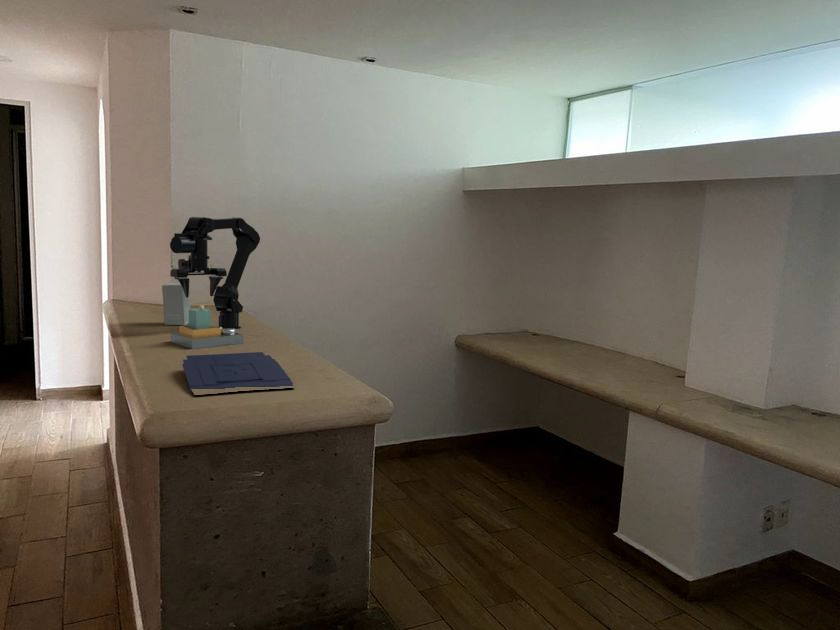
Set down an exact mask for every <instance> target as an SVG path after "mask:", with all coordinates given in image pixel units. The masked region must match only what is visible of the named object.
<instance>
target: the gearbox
mask: <svg viewBox="0 0 840 630" xmlns="http://www.w3.org/2000/svg"><path fill="white" fill-rule="evenodd" d="M178 327H179V328H178V332H176V331H175V332H170V343H173V344H175V345H179V346H182V347H185V348H188V349H189V350H190V349H191V350H195V349H206V348H213V347H214V348H215V347H222V346H231V345H241V344H244V334H243V333H241V332H236V331H237V330H236V329H237V328H235V329H234V328H222V327H220V326H219V325H217V326H216V325H212V324H211V328H206V329H195V330H194V329H190V328H189V324H187V325H178Z"/></svg>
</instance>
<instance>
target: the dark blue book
mask: <svg viewBox="0 0 840 630" xmlns="http://www.w3.org/2000/svg"><path fill="white" fill-rule="evenodd" d="M182 369H183V372H184V375H185V378H186V380H187V384H188V387H189V390H190V391H191V389H225V388H235V387H278V386H279V387H280V386H293V385H294V383H293V382H292V379H291V378H290V377H289V376H288V374H287V373H286V371H285V370H284V369H283V368H282V366H281V365H280V363H279V362H278V361H277V360H275V358H273V357H272V356H271V355H269V354H268V355H266V354H265V353H264V352H263V351H257V352H256V351H253V352H237V353H219V354H214V353H213V354H196V355H194V354H193V355H186V359H182Z"/></svg>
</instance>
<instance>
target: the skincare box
mask: <svg viewBox="0 0 840 630" xmlns="http://www.w3.org/2000/svg"><path fill="white" fill-rule="evenodd" d="M190 291H191V290H189V296H188V298H187V297H186V296H185V294H184V291H183V288H182V286H181V284H180V282H178V283H175V282H174V283H172V282H169V283H164V284H162V285H161V292H162V293H161V294H162V306H163V320H164V322H163V323H164V325H165V326H187V325H189V310H190V309H192V308H191V296H190V294H191V292H190Z"/></svg>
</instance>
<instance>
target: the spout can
mask: <svg viewBox="0 0 840 630" xmlns="http://www.w3.org/2000/svg"><path fill="white" fill-rule="evenodd" d="M211 314H212V313H211V310H210V309H206V308H205V305H201V304H200V305H199V306H198V308H191V309H190V310H189V324H188V325H189V328H190V329H194V330H195V329H206V328H211V325H212V323H211V321H212V319H211V317H212V316H211Z"/></svg>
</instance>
